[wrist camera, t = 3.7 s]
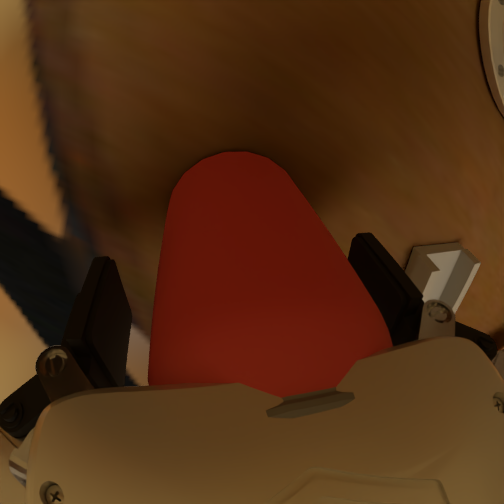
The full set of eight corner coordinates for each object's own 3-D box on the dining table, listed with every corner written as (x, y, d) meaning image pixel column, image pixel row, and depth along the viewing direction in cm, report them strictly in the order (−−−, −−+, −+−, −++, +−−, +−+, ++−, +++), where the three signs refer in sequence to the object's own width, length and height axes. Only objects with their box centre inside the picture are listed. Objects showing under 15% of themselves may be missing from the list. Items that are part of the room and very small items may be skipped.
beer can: (151, 238, 15) (124, 477, 6) (202, 124, 13) (220, 368, 3) (257, 274, 18) (312, 477, 8) (318, 182, 15) (466, 381, 6)
